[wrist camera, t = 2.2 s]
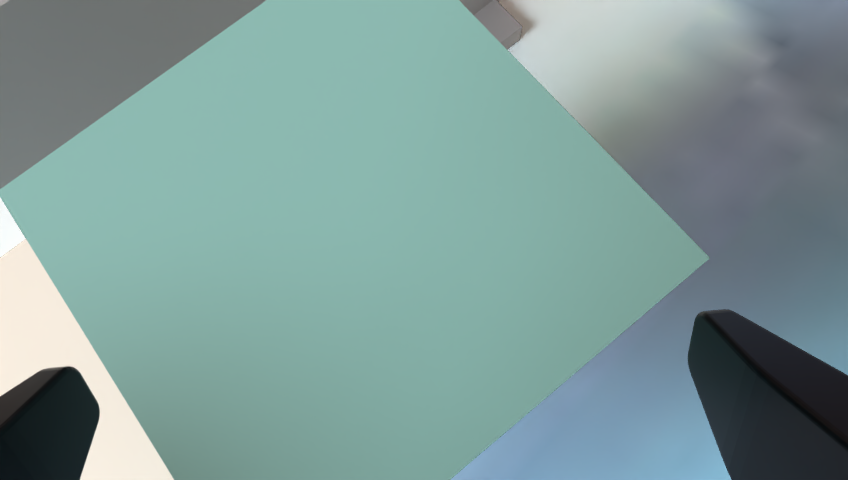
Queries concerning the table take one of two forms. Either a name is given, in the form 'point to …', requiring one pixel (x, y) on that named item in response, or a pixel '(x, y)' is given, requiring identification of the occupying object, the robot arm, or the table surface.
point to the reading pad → (67, 346)
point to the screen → (111, 60)
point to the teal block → (344, 244)
